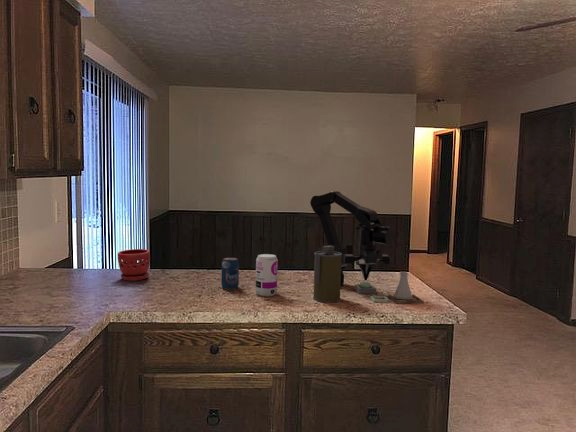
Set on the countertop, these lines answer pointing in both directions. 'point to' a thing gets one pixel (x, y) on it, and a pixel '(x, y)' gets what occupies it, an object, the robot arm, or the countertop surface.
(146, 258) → the plant pot
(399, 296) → the flask
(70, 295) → the countertop surface
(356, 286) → the button housing
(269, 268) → the supplement can
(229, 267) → the soda can
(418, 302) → the outline
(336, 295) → the canister
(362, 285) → the button
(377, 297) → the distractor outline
